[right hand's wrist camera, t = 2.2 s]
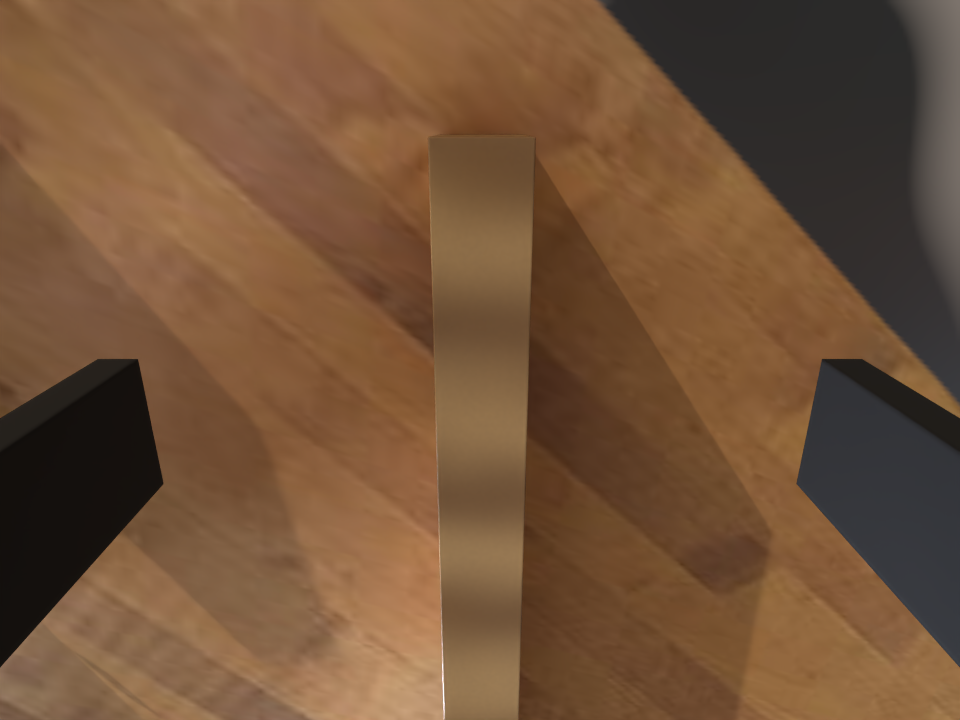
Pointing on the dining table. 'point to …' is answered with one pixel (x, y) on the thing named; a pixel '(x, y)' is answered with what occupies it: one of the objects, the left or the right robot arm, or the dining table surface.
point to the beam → (481, 409)
